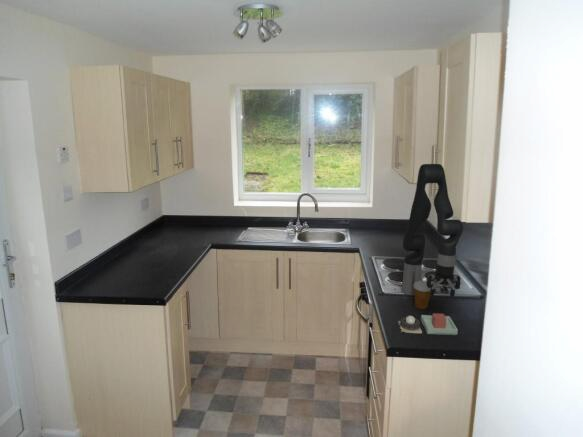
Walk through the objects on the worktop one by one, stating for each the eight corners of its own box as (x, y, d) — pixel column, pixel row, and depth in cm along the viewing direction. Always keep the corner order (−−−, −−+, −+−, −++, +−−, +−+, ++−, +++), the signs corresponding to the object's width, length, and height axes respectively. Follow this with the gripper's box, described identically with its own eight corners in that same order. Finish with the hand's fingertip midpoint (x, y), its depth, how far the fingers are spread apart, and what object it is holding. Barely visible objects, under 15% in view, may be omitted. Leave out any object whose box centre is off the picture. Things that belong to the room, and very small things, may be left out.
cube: (431, 323, 209) (432, 313, 208) (442, 323, 209) (443, 313, 208) (434, 328, 205) (435, 318, 203) (445, 328, 204) (446, 318, 203)
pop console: (398, 323, 210) (398, 316, 209) (417, 323, 210) (418, 317, 209) (401, 332, 202) (402, 325, 201) (421, 333, 201) (422, 326, 200)
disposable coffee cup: (434, 306, 229) (436, 284, 226) (425, 312, 222) (427, 289, 219) (416, 300, 235) (418, 279, 232) (408, 306, 228) (410, 284, 225)
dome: (404, 322, 207) (405, 313, 206) (413, 322, 207) (414, 314, 206) (406, 326, 203) (407, 317, 202) (415, 326, 203) (416, 318, 202)
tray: (420, 319, 214) (421, 315, 213) (448, 321, 213) (449, 316, 212) (427, 333, 201) (427, 328, 200) (457, 335, 200) (457, 329, 200)
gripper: (459, 260, 202) (455, 293, 206) (427, 259, 203) (423, 292, 207) (464, 266, 195) (460, 300, 199) (431, 265, 196) (427, 299, 200)
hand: (441, 296), depth 203 cm, fingers open, 8 cm apart
